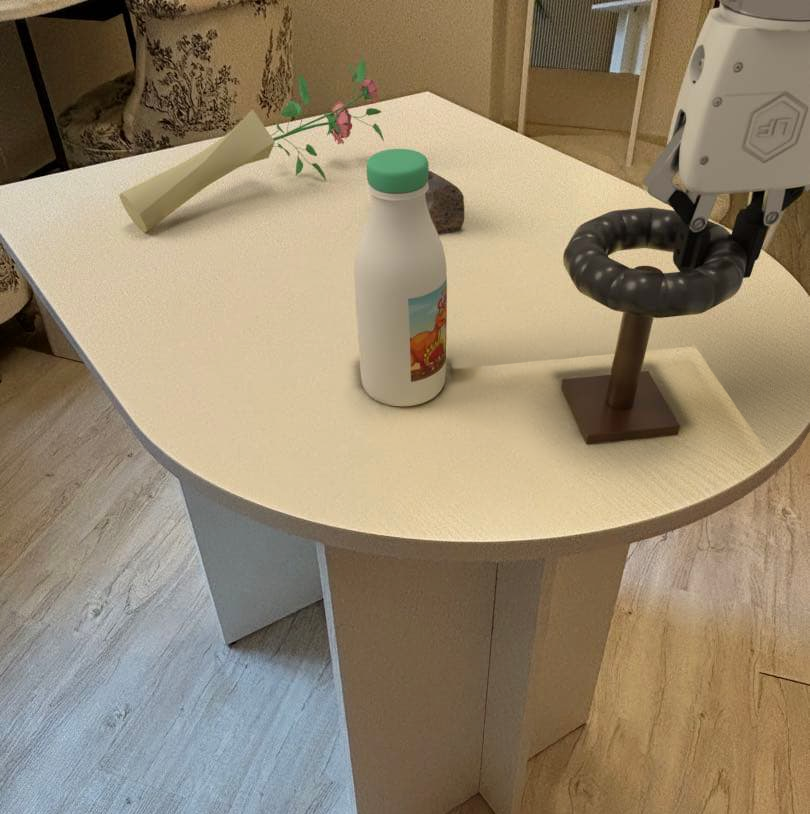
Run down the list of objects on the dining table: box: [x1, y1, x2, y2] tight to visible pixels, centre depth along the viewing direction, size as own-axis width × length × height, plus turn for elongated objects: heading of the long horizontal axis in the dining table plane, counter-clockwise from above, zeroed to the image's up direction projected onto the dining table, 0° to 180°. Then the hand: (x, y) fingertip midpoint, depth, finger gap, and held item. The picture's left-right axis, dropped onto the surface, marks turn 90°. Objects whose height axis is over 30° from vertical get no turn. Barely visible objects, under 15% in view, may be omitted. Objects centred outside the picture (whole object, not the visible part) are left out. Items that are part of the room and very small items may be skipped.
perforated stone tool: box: [425, 170, 465, 235], centre depth 92 cm, size 15×5×7 cm, turn 36°
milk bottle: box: [353, 148, 448, 407], centre depth 66 cm, size 8×8×20 cm
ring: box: [562, 206, 747, 319], centre depth 59 cm, size 13×13×3 cm
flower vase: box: [118, 58, 385, 234], centre depth 99 cm, size 12×12×35 cm
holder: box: [560, 265, 681, 445], centre depth 65 cm, size 8×8×13 cm
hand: (712, 269), depth 61 cm, fingers closed on ring, 3 cm apart
